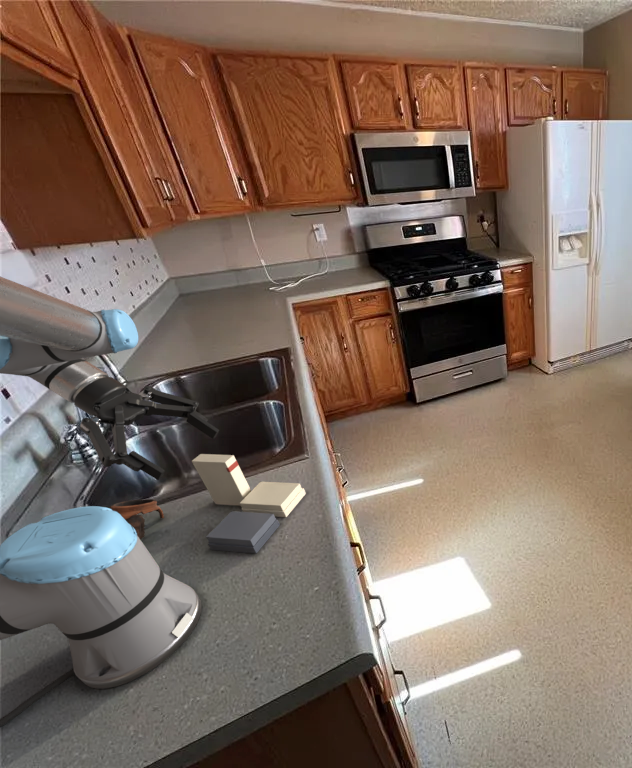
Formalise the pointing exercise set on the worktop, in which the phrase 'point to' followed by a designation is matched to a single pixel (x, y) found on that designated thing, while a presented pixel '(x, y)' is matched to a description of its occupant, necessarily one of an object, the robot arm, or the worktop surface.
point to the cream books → (273, 498)
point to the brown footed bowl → (137, 512)
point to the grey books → (242, 532)
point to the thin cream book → (222, 478)
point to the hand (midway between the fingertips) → (190, 453)
